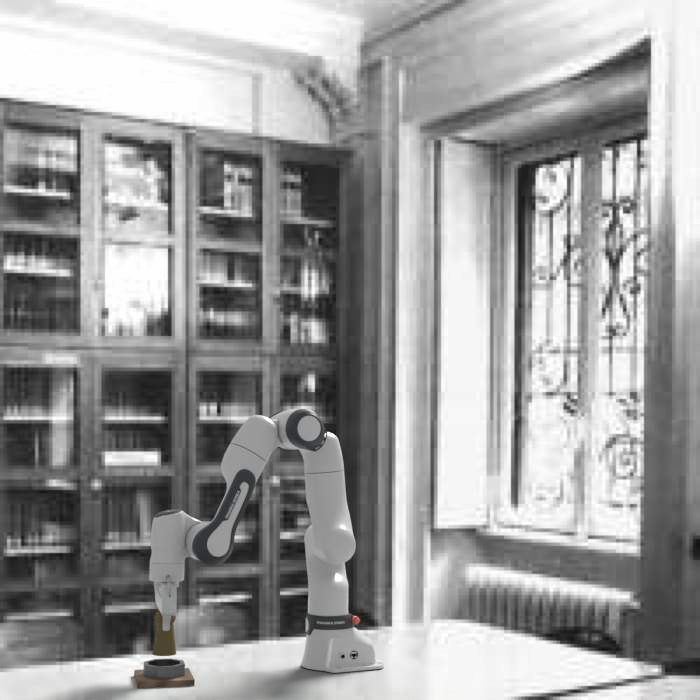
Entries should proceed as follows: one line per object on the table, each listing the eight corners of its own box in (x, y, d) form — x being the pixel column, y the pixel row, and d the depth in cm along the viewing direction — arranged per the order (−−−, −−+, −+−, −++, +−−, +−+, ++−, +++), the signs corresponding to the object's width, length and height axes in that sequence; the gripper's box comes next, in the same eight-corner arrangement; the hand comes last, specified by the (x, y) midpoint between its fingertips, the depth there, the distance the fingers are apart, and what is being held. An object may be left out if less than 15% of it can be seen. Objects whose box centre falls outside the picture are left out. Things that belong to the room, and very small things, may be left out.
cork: (171, 656, 274) (172, 612, 275) (148, 655, 276) (150, 611, 276) (179, 652, 280) (181, 608, 281) (157, 650, 281) (159, 607, 282)
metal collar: (181, 669, 284) (182, 658, 284) (185, 678, 274) (186, 666, 274) (142, 671, 281) (142, 659, 281) (145, 679, 271) (145, 667, 272)
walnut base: (188, 673, 286) (188, 667, 286) (194, 685, 272) (194, 679, 272) (134, 675, 282) (134, 669, 283) (137, 688, 269) (137, 682, 269)
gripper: (183, 578, 270) (181, 635, 269) (175, 568, 290) (173, 621, 289) (157, 579, 269) (155, 636, 268) (151, 568, 288) (149, 621, 287)
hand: (164, 628), depth 278 cm, fingers closed on cork, 4 cm apart
